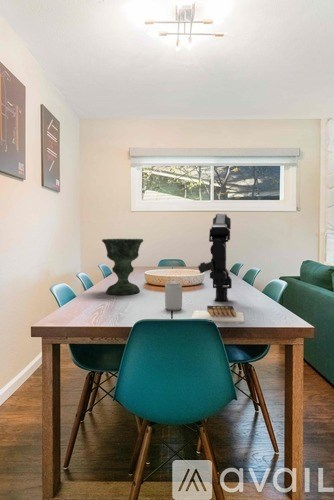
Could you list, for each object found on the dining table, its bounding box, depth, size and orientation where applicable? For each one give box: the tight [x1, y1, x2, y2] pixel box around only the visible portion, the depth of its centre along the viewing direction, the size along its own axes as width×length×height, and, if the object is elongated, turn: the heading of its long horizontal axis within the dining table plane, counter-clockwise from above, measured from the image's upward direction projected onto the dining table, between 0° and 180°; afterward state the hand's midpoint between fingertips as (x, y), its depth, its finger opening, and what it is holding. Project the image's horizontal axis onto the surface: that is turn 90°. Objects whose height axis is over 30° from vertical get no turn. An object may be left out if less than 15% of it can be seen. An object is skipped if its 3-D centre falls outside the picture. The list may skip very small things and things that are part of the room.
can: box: [164, 280, 183, 311], centre depth 147 cm, size 8×8×12 cm
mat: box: [190, 309, 245, 324], centre depth 133 cm, size 14×20×1 cm
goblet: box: [101, 238, 144, 296], centre depth 185 cm, size 22×23×30 cm
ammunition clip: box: [206, 305, 236, 317], centre depth 135 cm, size 11×2×12 cm
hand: (218, 293), depth 138 cm, fingers closed
